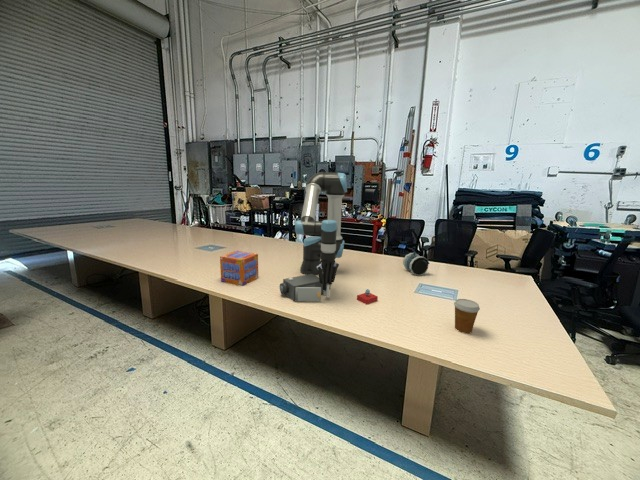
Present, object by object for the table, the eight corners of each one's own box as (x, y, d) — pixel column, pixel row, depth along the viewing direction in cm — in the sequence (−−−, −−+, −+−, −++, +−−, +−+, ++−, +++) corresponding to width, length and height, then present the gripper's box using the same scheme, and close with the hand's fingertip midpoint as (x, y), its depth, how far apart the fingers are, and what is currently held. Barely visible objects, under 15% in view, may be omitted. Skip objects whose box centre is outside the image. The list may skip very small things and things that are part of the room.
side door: (320, 300, 141) (321, 287, 140) (320, 301, 139) (321, 288, 138) (295, 300, 140) (295, 287, 139) (295, 301, 138) (295, 288, 137)
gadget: (429, 276, 186) (431, 254, 183) (411, 276, 183) (413, 254, 180) (418, 269, 200) (420, 248, 197) (401, 270, 197) (403, 249, 194)
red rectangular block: (366, 305, 139) (367, 293, 138) (356, 300, 144) (357, 288, 143) (377, 301, 144) (378, 290, 142) (367, 297, 149) (368, 285, 148)
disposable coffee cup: (446, 324, 122) (449, 298, 119) (467, 323, 123) (471, 298, 120) (458, 335, 113) (462, 308, 110) (481, 335, 114) (485, 308, 111)
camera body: (311, 287, 159) (312, 272, 158) (323, 294, 150) (324, 278, 148) (278, 294, 148) (278, 278, 146) (288, 302, 138) (288, 285, 136)
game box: (237, 274, 177) (237, 250, 174) (258, 278, 172) (258, 253, 169) (220, 282, 163) (219, 256, 160) (242, 286, 158) (242, 259, 154)
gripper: (334, 248, 146) (332, 291, 150) (313, 251, 138) (311, 295, 143) (343, 251, 140) (340, 295, 144) (321, 254, 132) (320, 301, 137)
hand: (326, 295), depth 144 cm, fingers closed
